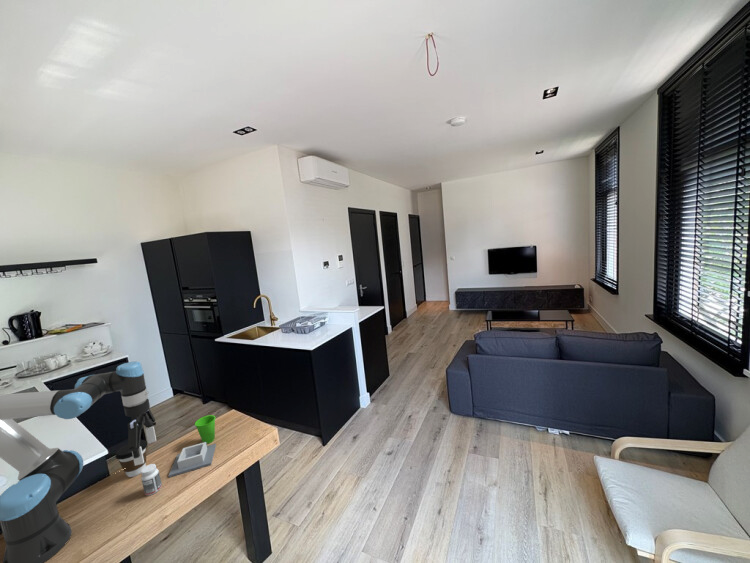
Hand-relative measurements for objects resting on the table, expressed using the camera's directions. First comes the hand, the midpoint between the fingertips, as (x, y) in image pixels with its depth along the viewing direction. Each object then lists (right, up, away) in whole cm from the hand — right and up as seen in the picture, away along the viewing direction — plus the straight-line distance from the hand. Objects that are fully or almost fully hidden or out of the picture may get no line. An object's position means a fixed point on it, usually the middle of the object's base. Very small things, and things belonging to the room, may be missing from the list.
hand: (146, 452), depth 118 cm
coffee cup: (-15, -16, +14) cm, 26 cm away
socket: (+8, -14, +17) cm, 24 cm away
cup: (+8, -12, +31) cm, 34 cm away
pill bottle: (+1, -17, +2) cm, 17 cm away
